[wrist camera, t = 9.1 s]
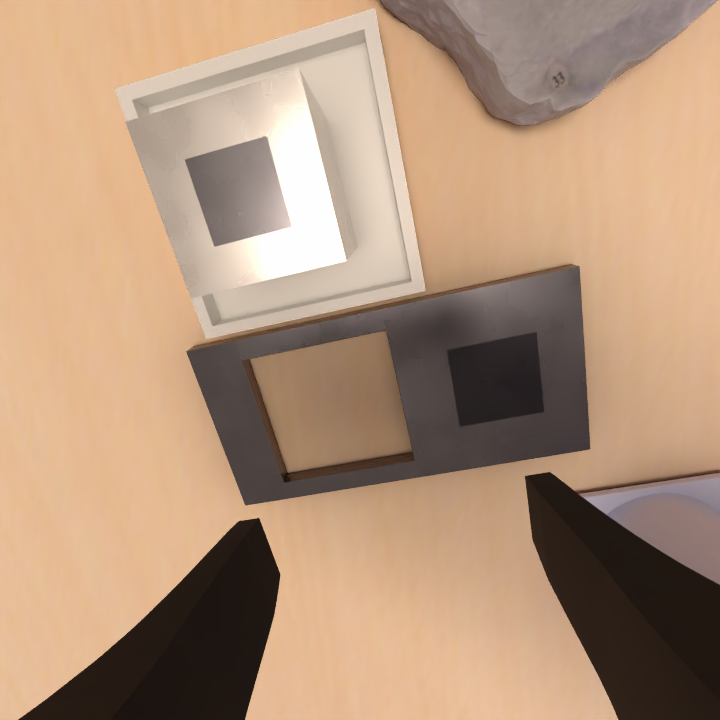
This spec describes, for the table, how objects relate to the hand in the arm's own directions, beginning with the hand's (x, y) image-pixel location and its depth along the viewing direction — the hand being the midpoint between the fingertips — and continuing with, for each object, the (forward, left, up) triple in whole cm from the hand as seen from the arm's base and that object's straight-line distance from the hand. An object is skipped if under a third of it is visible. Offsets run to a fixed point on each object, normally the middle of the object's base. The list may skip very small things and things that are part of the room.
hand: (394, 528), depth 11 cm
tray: (+10, +2, -10) cm, 14 cm away
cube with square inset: (+9, +2, -10) cm, 14 cm away
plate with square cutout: (0, 0, -10) cm, 10 cm away
